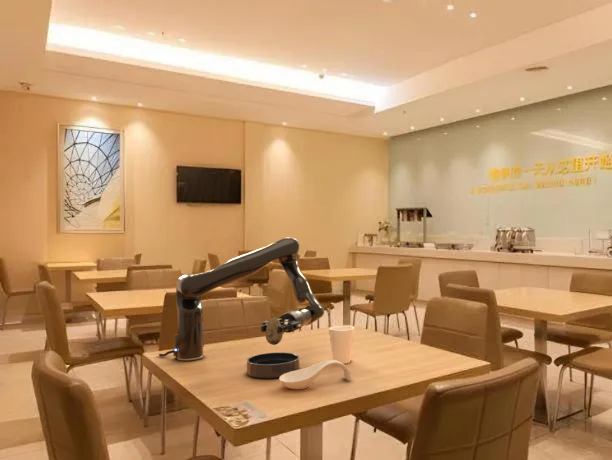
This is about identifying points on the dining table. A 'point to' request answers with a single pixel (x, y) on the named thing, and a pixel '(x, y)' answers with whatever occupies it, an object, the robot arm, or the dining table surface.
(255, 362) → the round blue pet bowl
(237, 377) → the dining table surface
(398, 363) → the dining table surface
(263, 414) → the dining table surface
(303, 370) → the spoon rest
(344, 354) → the foam cup
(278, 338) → the decorative egg
